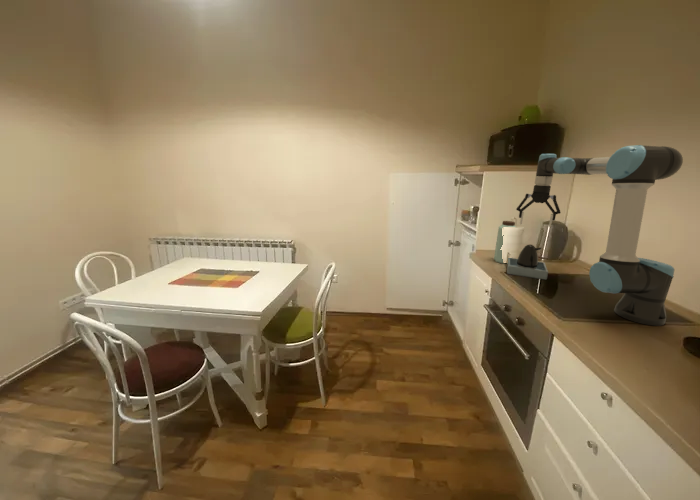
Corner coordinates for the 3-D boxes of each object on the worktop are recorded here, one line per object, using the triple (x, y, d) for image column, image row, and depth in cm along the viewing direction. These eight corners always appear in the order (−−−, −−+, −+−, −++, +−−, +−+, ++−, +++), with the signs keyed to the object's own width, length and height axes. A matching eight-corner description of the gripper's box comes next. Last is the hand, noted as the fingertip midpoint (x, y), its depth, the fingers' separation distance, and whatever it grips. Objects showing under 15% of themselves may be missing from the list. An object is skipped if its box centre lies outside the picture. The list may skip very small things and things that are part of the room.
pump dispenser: (535, 275, 168) (540, 248, 164) (514, 271, 174) (518, 244, 170) (537, 270, 176) (542, 244, 172) (517, 266, 182) (521, 241, 178)
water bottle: (493, 262, 191) (499, 222, 184) (494, 258, 199) (500, 219, 193) (511, 265, 186) (518, 223, 180) (511, 260, 195) (518, 221, 188)
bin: (546, 279, 163) (548, 271, 162) (507, 273, 171) (508, 265, 170) (543, 269, 179) (544, 262, 178) (507, 264, 187) (508, 257, 186)
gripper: (569, 185, 160) (561, 226, 166) (515, 183, 170) (509, 221, 176) (572, 186, 154) (563, 228, 159) (515, 184, 164) (509, 223, 169)
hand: (535, 225), depth 168 cm, fingers open, 13 cm apart
